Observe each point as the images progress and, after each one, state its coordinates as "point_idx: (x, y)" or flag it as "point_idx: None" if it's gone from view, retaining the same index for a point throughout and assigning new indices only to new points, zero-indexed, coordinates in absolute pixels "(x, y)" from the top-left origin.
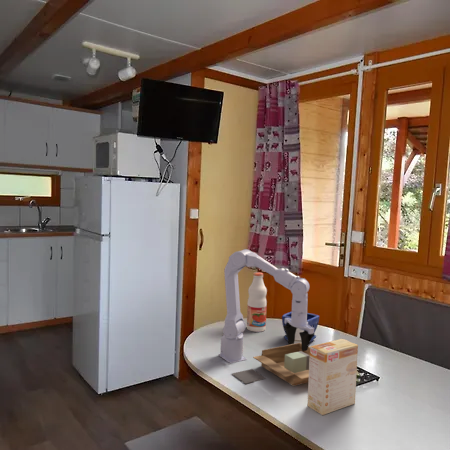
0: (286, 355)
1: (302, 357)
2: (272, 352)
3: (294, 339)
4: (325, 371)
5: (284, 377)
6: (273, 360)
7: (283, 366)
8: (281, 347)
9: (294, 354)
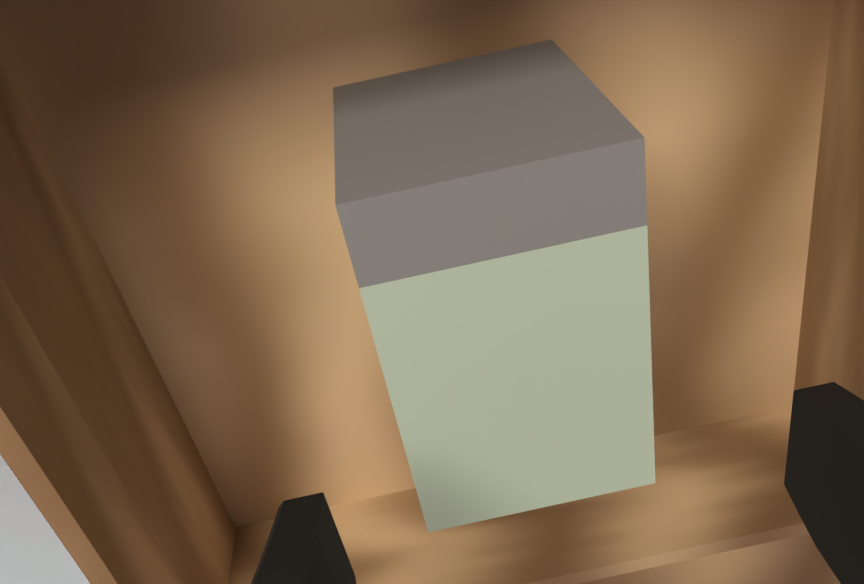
0: (472, 520)
1: (647, 317)
2: (158, 567)
3: (312, 571)
4: None
5: (663, 469)
6: (171, 447)
7: (293, 330)
8: (61, 482)
9: (477, 400)
